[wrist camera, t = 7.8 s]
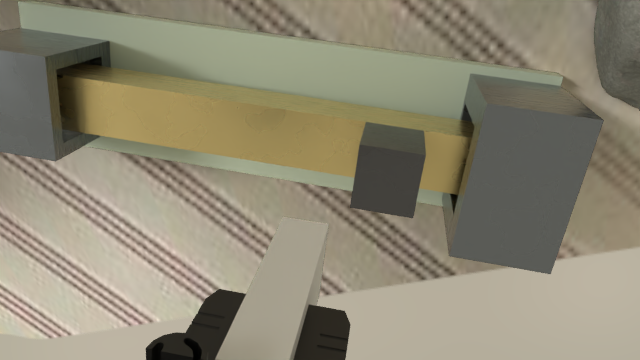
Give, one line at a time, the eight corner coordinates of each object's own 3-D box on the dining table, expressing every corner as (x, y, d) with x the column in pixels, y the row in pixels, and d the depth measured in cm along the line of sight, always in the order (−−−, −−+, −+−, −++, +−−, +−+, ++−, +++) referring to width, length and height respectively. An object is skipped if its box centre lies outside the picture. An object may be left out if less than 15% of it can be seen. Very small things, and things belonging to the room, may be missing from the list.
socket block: (441, 198, 32) (449, 256, 26) (470, 73, 29) (486, 103, 23) (522, 212, 32) (550, 274, 26) (560, 85, 29) (603, 120, 22)
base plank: (45, 132, 37) (34, 137, 36) (30, 0, 33) (17, 1, 32) (516, 211, 33) (520, 219, 32) (557, 72, 30) (563, 77, 28)
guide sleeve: (31, 115, 35) (-42, 144, 29) (20, 27, 33) (-61, 40, 27) (114, 129, 34) (55, 161, 29) (109, 40, 32) (44, 56, 26)
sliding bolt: (60, 109, 33) (-23, 143, 26) (55, 59, 32) (-33, 82, 25) (507, 181, 30) (532, 238, 24) (521, 129, 29) (552, 175, 22)
